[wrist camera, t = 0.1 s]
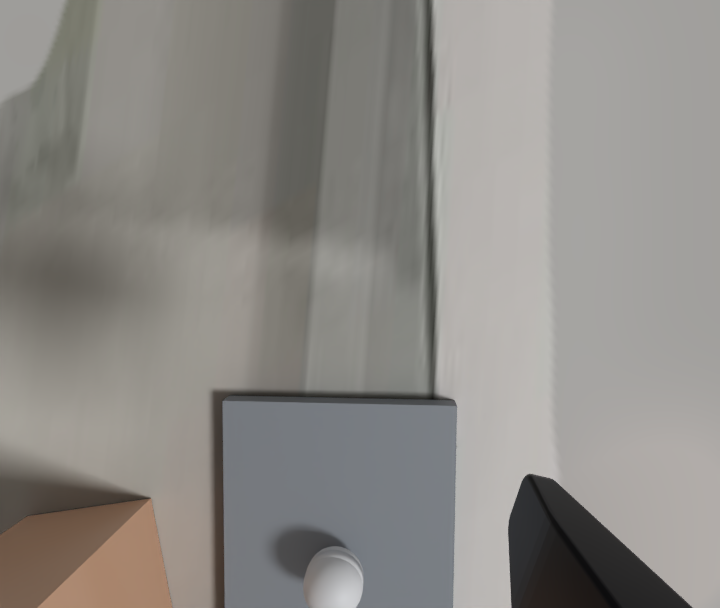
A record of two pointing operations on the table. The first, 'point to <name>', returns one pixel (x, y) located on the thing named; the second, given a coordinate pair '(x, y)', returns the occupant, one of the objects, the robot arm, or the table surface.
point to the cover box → (85, 559)
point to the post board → (338, 502)
